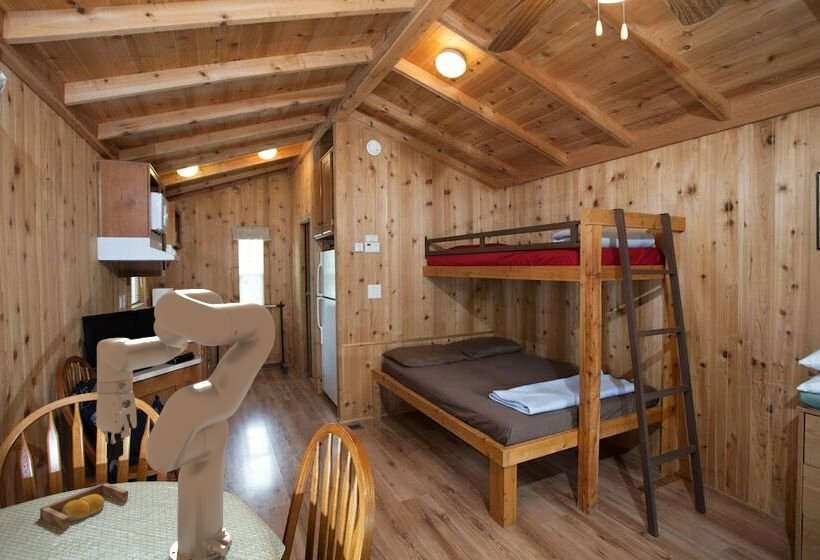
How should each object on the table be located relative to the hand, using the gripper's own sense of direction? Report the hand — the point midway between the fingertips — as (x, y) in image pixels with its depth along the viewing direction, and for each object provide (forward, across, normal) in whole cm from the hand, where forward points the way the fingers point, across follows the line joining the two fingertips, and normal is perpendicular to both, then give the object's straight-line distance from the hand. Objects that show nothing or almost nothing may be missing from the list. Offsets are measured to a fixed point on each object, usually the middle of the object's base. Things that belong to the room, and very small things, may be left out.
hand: (115, 457), depth 107 cm
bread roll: (+17, +12, +1) cm, 21 cm away
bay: (+16, +12, 0) cm, 21 cm away
